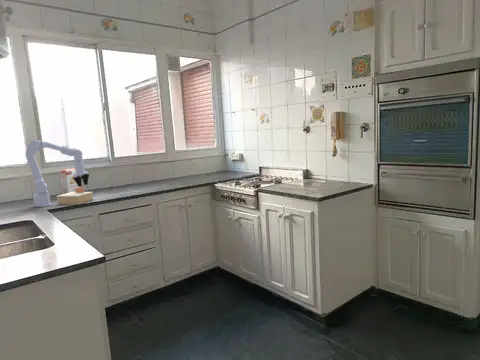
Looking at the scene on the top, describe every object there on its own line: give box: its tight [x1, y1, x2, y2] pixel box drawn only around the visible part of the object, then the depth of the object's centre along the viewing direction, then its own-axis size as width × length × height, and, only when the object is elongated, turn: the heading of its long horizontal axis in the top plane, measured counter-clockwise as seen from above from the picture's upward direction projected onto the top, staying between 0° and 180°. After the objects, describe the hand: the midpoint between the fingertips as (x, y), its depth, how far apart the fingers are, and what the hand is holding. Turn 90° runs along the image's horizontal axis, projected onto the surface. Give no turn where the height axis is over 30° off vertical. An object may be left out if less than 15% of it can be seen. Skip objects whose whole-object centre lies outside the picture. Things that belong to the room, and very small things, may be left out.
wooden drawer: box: [56, 193, 94, 205], centre depth 231 cm, size 17×14×5 cm
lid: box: [56, 186, 93, 198], centre depth 231 cm, size 18×14×4 cm
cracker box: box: [59, 167, 78, 194], centre depth 256 cm, size 14×6×21 cm, turn 168°
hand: (83, 185), depth 236 cm, fingers open, 7 cm apart
